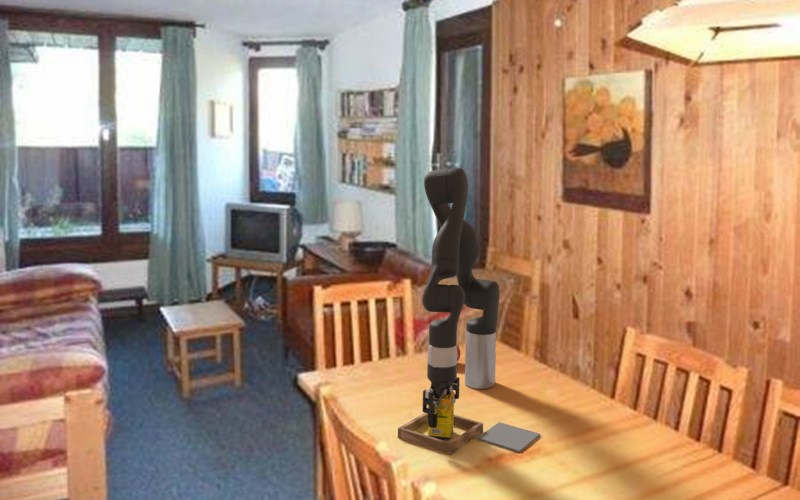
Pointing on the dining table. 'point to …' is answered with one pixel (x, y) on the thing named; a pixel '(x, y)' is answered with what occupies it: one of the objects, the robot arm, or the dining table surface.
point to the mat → (508, 437)
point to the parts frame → (437, 444)
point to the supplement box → (444, 419)
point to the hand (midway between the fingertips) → (440, 421)
